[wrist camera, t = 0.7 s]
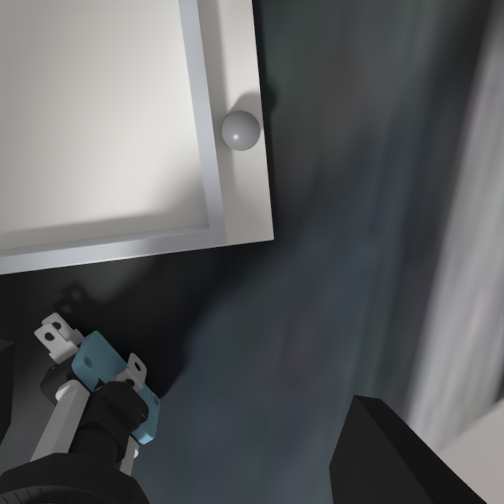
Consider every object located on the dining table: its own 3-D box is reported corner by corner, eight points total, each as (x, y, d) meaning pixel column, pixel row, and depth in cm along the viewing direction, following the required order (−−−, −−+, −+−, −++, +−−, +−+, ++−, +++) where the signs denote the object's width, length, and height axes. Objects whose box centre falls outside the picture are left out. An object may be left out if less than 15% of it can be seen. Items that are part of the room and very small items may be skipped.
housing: (-123, 286, 19) (-149, 302, 18) (-306, -176, 14) (-363, -206, 13) (272, 236, 20) (277, 247, 19) (229, -217, 15) (232, -248, 14)
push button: (4, 342, 20) (-167, 559, 11) (104, 276, 20) (14, 444, 10) (104, 443, 23) (31, 697, 13) (196, 386, 22) (191, 608, 13)
